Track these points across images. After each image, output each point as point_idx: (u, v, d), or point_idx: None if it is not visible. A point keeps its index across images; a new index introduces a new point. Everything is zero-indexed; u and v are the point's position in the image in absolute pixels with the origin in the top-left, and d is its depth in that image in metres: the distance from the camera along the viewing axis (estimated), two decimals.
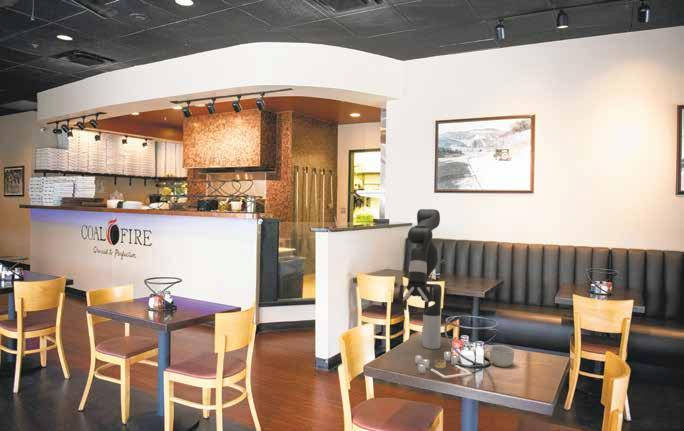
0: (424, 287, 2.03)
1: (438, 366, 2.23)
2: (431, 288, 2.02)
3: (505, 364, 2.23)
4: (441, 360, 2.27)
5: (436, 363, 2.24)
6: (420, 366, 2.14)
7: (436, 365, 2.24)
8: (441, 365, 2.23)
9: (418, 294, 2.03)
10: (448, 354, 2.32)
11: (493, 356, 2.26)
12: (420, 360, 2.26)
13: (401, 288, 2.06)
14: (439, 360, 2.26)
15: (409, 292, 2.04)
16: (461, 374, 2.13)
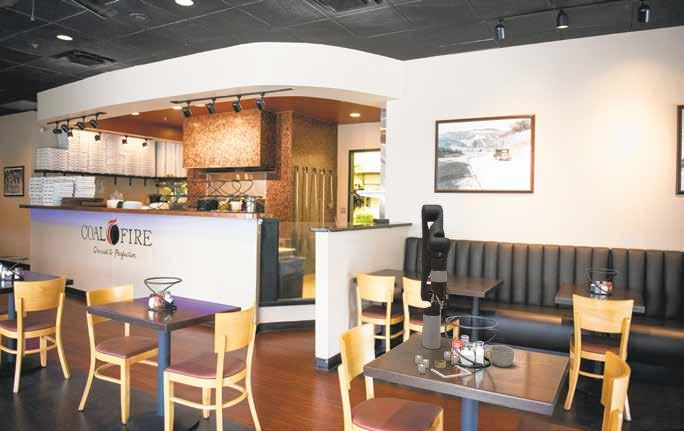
0: (440, 295, 2.22)
1: (438, 366, 2.23)
2: (444, 297, 2.20)
3: (505, 364, 2.23)
4: (441, 360, 2.26)
5: (436, 363, 2.24)
6: (420, 366, 2.14)
7: (436, 365, 2.24)
8: (441, 365, 2.23)
9: (437, 300, 2.25)
10: (448, 354, 2.32)
11: (493, 356, 2.26)
12: (420, 360, 2.26)
13: (429, 293, 2.31)
14: (439, 360, 2.26)
15: (432, 298, 2.28)
16: (461, 374, 2.13)
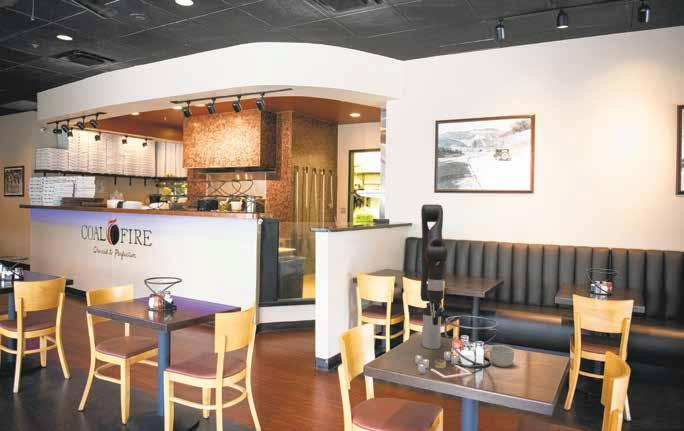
0: (437, 304, 2.26)
1: (438, 366, 2.23)
2: (439, 309, 2.24)
3: (505, 364, 2.23)
4: (441, 360, 2.27)
5: (436, 363, 2.24)
6: (420, 366, 2.14)
7: (436, 365, 2.24)
8: (441, 365, 2.23)
9: None
10: (448, 354, 2.32)
11: (493, 356, 2.26)
12: (420, 360, 2.26)
13: (427, 306, 2.33)
14: (439, 360, 2.26)
15: (431, 308, 2.30)
16: (461, 374, 2.13)
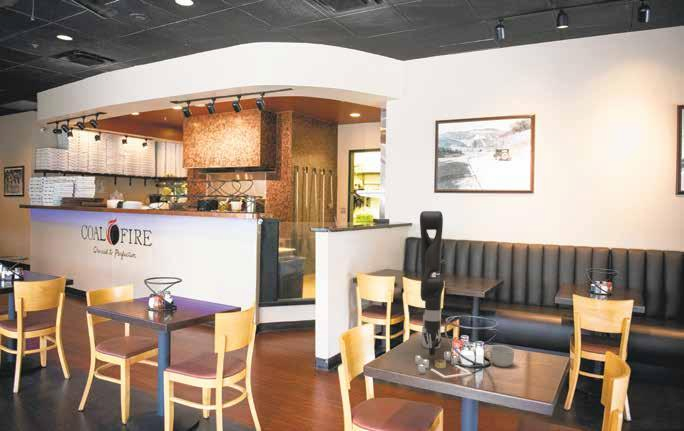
0: (434, 334, 2.27)
1: (438, 366, 2.23)
2: (436, 340, 2.26)
3: (505, 364, 2.23)
4: (441, 360, 2.26)
5: (436, 363, 2.24)
6: (420, 366, 2.14)
7: (436, 365, 2.24)
8: (441, 365, 2.23)
9: (429, 337, 2.31)
10: (448, 354, 2.32)
11: (493, 356, 2.26)
12: (420, 360, 2.26)
13: (424, 336, 2.35)
14: (439, 360, 2.26)
15: (427, 338, 2.31)
16: (461, 374, 2.13)
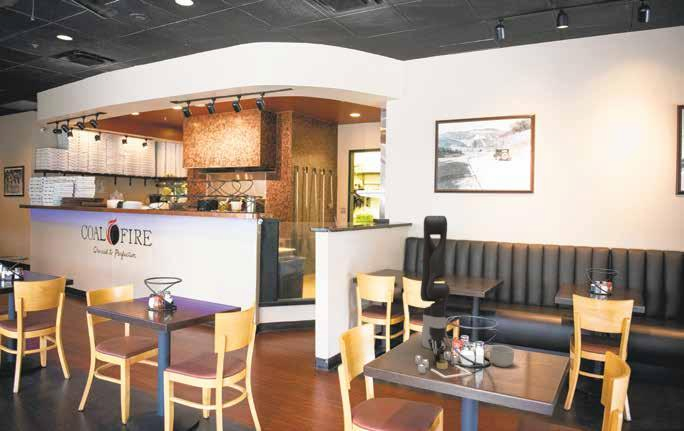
0: (439, 342, 2.23)
1: (440, 367, 2.22)
2: (441, 348, 2.22)
3: (505, 364, 2.23)
4: (443, 361, 2.25)
5: (438, 364, 2.22)
6: (420, 366, 2.14)
7: (438, 366, 2.22)
8: (443, 366, 2.21)
9: None
10: (448, 354, 2.32)
11: (493, 356, 2.26)
12: (420, 360, 2.26)
13: (429, 342, 2.31)
14: (441, 361, 2.25)
15: (433, 345, 2.28)
16: (461, 374, 2.13)
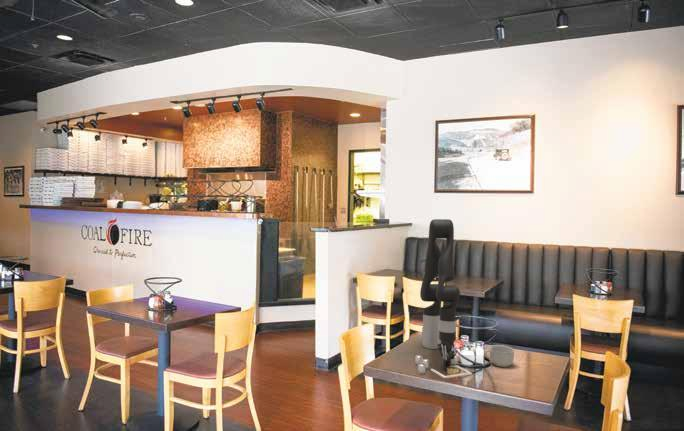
0: (449, 346, 2.16)
1: (451, 373, 2.14)
2: (452, 353, 2.14)
3: (505, 364, 2.23)
4: (453, 366, 2.18)
5: (449, 370, 2.15)
6: (420, 366, 2.14)
7: (449, 372, 2.15)
8: (454, 372, 2.14)
9: (444, 349, 2.20)
10: None
11: (493, 356, 2.26)
12: (420, 360, 2.26)
13: (439, 347, 2.24)
14: (451, 366, 2.18)
15: (442, 350, 2.20)
16: (461, 374, 2.13)
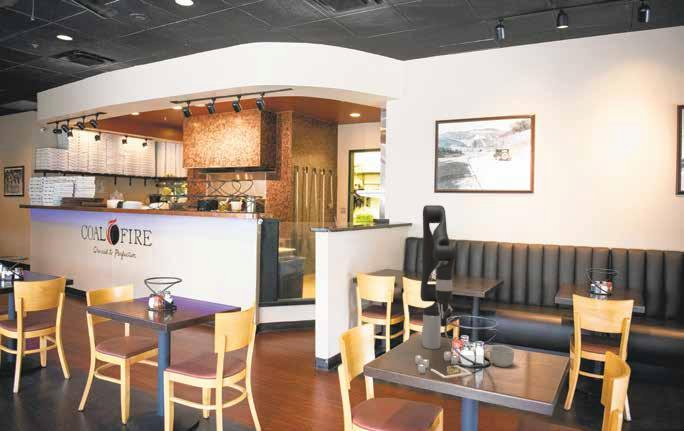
0: (446, 305, 2.20)
1: (451, 373, 2.14)
2: (448, 310, 2.18)
3: (505, 364, 2.23)
4: (453, 366, 2.18)
5: (449, 370, 2.15)
6: (420, 366, 2.14)
7: (449, 372, 2.15)
8: (454, 372, 2.14)
9: None
10: (448, 354, 2.32)
11: (493, 356, 2.26)
12: (420, 360, 2.26)
13: (435, 306, 2.27)
14: (451, 366, 2.18)
15: (439, 308, 2.24)
16: (461, 374, 2.13)
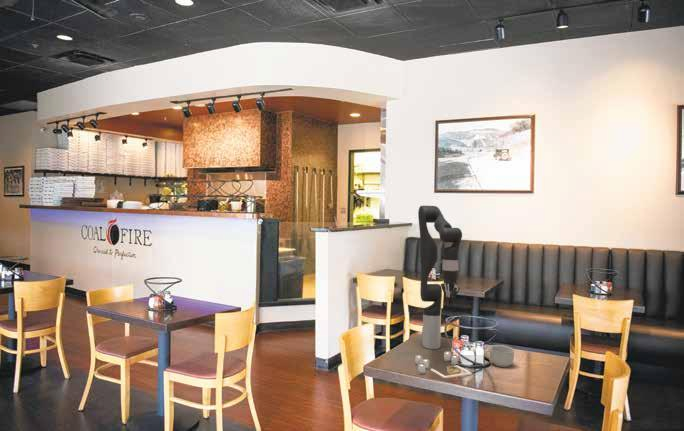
0: (452, 284, 2.30)
1: (451, 373, 2.14)
2: (454, 289, 2.28)
3: (505, 364, 2.23)
4: (453, 366, 2.18)
5: (449, 370, 2.15)
6: (420, 366, 2.14)
7: (449, 372, 2.15)
8: (454, 372, 2.14)
9: (447, 287, 2.33)
10: (448, 354, 2.32)
11: (493, 356, 2.26)
12: (420, 360, 2.26)
13: (442, 286, 2.37)
14: (451, 366, 2.18)
15: (445, 288, 2.34)
16: (461, 374, 2.13)
